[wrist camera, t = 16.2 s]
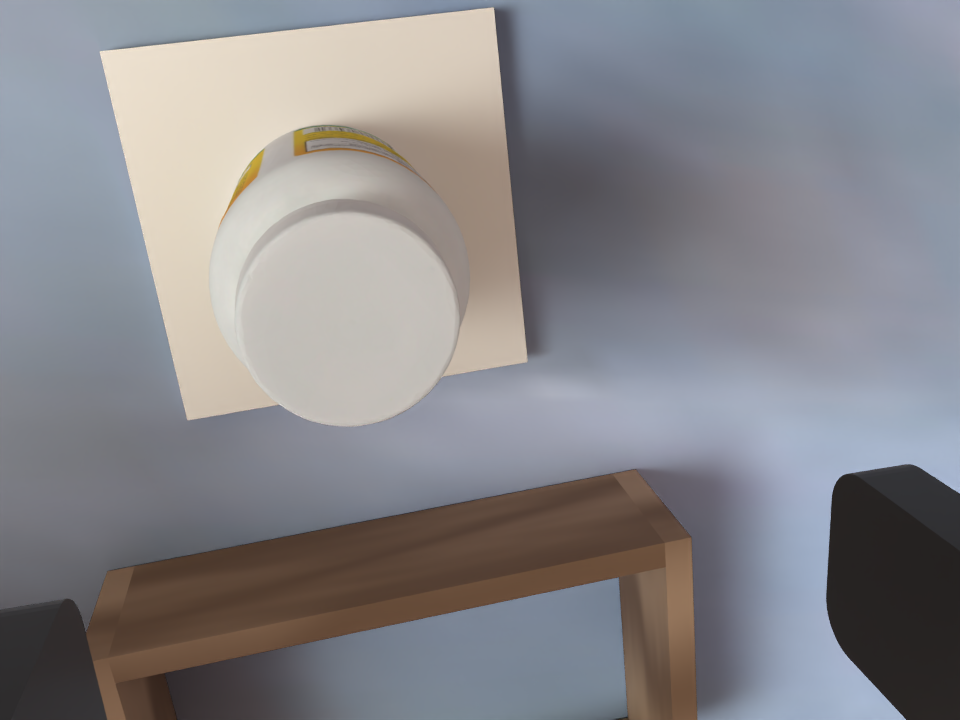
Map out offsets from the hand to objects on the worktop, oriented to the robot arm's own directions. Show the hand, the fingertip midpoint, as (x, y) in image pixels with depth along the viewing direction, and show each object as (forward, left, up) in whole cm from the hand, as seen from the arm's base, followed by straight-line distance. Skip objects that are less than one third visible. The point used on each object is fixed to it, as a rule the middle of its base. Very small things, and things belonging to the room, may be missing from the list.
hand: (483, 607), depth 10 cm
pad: (-1, -1, -18) cm, 18 cm away
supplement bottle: (-1, -1, -17) cm, 17 cm away
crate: (+14, -1, -18) cm, 22 cm away
